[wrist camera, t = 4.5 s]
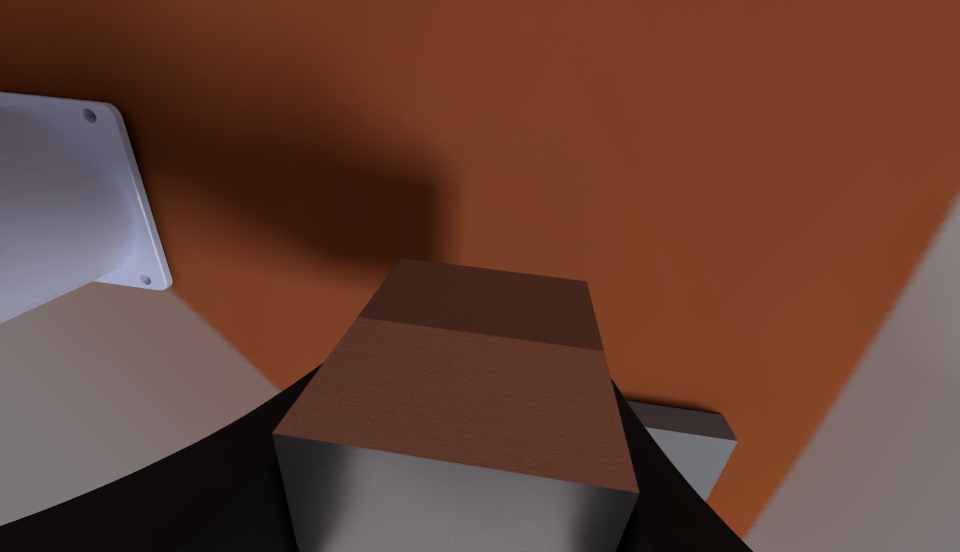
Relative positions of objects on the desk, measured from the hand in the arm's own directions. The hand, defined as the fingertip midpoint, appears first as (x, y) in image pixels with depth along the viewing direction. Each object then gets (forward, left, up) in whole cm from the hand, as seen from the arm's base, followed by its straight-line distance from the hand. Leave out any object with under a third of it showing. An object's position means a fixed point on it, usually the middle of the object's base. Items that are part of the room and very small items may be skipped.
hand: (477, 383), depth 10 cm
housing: (0, 0, -2) cm, 2 cm away
